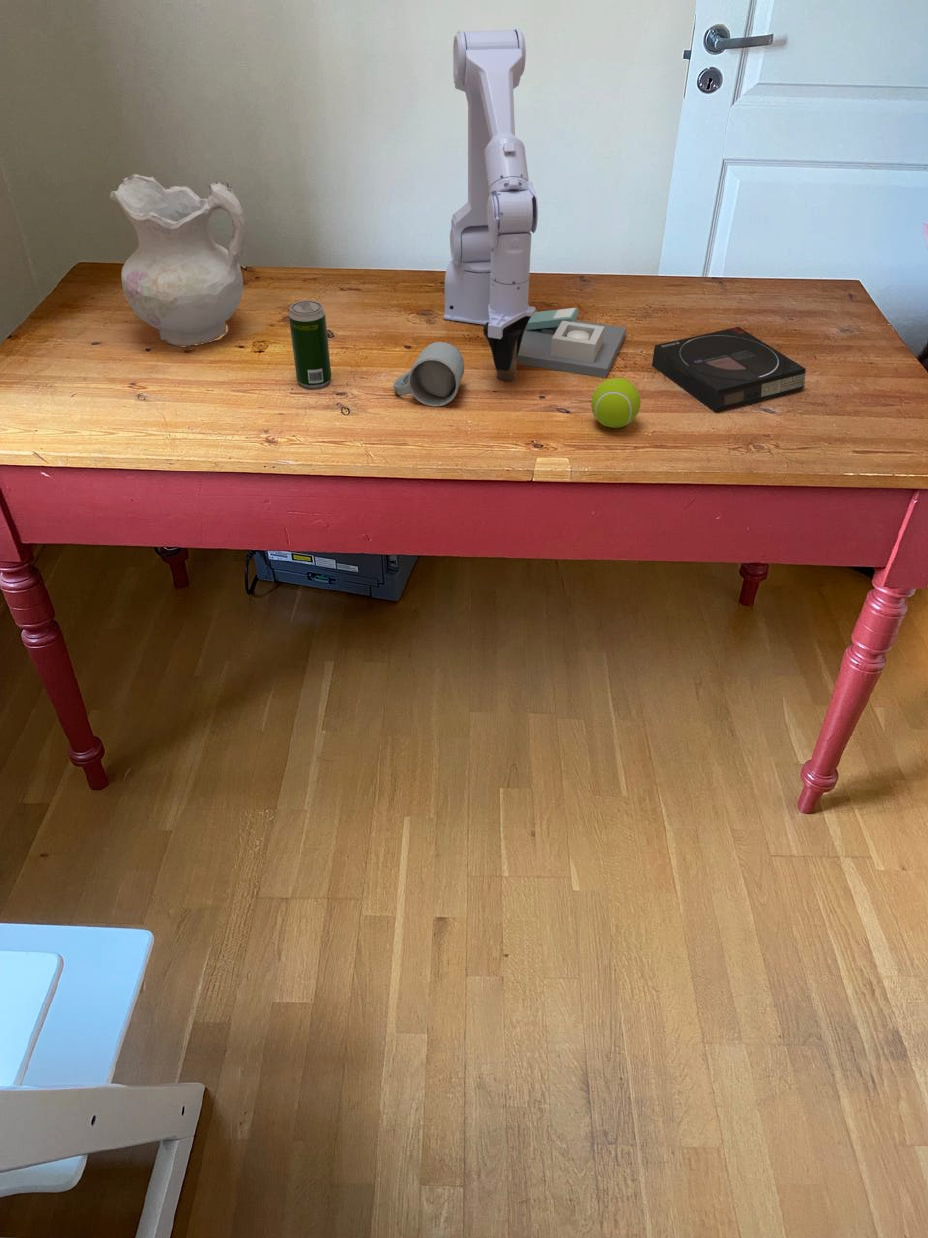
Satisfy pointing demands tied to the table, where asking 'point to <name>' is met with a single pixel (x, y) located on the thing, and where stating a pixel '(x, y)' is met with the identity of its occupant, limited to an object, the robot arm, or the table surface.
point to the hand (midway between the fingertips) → (506, 363)
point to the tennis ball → (615, 403)
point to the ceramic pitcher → (181, 259)
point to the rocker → (551, 318)
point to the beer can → (310, 344)
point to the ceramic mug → (433, 375)
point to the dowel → (511, 374)
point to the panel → (572, 348)
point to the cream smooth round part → (578, 334)
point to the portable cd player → (728, 368)
